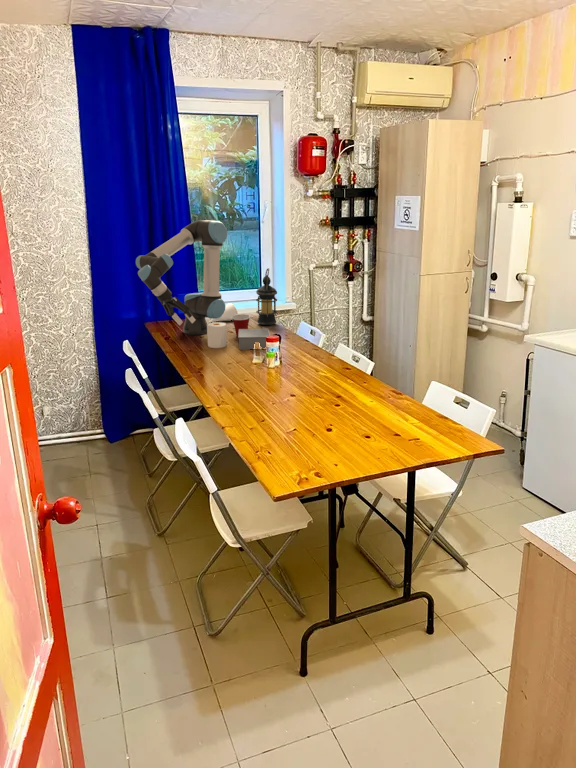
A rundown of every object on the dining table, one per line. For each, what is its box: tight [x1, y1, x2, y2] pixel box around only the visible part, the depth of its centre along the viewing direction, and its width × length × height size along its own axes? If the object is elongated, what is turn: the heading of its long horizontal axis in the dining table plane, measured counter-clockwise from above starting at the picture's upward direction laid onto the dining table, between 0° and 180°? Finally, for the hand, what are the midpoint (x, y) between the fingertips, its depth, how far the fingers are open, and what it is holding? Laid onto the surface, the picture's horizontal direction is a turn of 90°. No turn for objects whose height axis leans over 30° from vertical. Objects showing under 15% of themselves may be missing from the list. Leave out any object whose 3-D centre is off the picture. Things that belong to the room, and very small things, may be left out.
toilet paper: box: [206, 321, 228, 349], centre depth 325 cm, size 10×10×12 cm
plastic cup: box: [232, 313, 251, 338], centre depth 345 cm, size 11×11×12 cm
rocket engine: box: [208, 302, 239, 324], centre depth 382 cm, size 12×12×18 cm
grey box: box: [237, 328, 270, 351], centre depth 327 cm, size 19×17×7 cm
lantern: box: [255, 268, 278, 326], centre depth 370 cm, size 14×13×35 cm
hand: (187, 322), depth 319 cm, fingers open, 13 cm apart
